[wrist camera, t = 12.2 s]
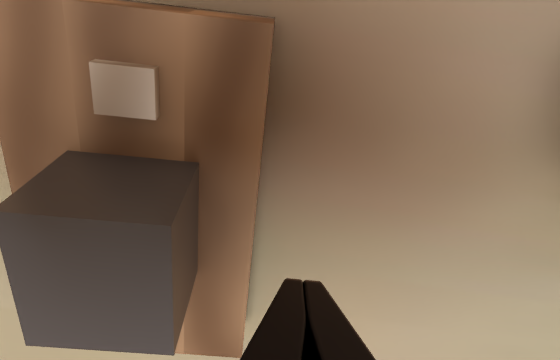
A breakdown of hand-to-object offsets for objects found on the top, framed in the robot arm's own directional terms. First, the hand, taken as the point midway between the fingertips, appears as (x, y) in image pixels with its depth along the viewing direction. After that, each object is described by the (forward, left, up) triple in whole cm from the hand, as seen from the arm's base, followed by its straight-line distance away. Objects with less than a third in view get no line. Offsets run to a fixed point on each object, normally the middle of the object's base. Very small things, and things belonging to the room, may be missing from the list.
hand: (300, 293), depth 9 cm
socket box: (+7, +4, -12) cm, 14 cm away
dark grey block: (+7, +4, -11) cm, 13 cm away
